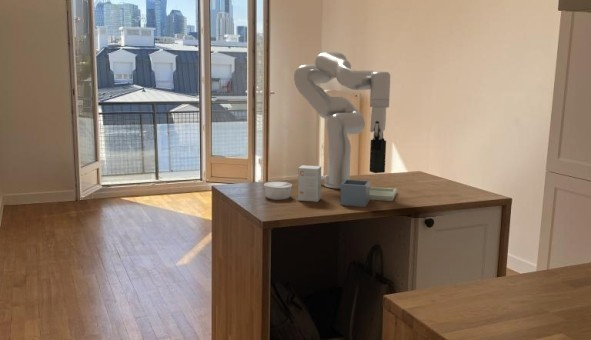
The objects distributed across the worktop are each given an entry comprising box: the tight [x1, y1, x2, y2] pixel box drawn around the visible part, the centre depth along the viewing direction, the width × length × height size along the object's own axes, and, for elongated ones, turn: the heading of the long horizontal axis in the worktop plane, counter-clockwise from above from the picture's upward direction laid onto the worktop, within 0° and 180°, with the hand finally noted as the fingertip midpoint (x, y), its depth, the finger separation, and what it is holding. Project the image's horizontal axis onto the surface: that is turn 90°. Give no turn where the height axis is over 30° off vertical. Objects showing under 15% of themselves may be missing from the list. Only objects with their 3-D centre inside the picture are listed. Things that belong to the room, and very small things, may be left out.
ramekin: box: [263, 181, 293, 201], centre depth 238 cm, size 11×11×5 cm
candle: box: [369, 131, 387, 174], centre depth 239 cm, size 5×5×25 cm
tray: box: [369, 186, 397, 202], centre depth 243 cm, size 15×15×2 cm
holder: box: [339, 179, 371, 208], centre depth 230 cm, size 10×10×8 cm
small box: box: [297, 164, 322, 203], centre depth 234 cm, size 8×6×13 cm
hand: (377, 148), depth 240 cm, fingers closed on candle, 6 cm apart
